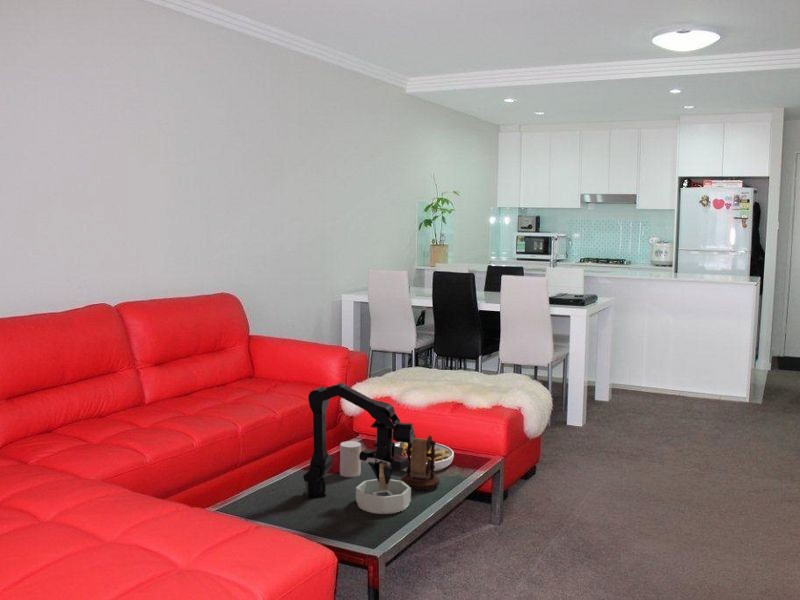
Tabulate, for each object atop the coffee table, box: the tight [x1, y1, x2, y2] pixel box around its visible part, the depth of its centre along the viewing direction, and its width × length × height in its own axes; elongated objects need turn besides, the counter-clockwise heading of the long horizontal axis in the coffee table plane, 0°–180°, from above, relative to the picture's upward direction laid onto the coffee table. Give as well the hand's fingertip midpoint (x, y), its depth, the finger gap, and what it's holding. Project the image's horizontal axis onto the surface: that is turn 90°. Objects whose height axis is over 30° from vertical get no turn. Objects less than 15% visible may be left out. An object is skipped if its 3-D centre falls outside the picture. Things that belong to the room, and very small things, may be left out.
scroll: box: [400, 433, 440, 492], centre depth 286 cm, size 15×15×20 cm
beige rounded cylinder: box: [379, 462, 388, 490], centre depth 267 cm, size 3×3×9 cm
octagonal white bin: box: [355, 478, 412, 515], centre depth 268 cm, size 18×18×6 cm
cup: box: [339, 440, 362, 478], centre depth 298 cm, size 8×8×12 cm
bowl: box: [392, 442, 455, 473], centre depth 314 cm, size 30×30×8 cm
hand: (383, 482), depth 267 cm, fingers closed on beige rounded cylinder, 3 cm apart
